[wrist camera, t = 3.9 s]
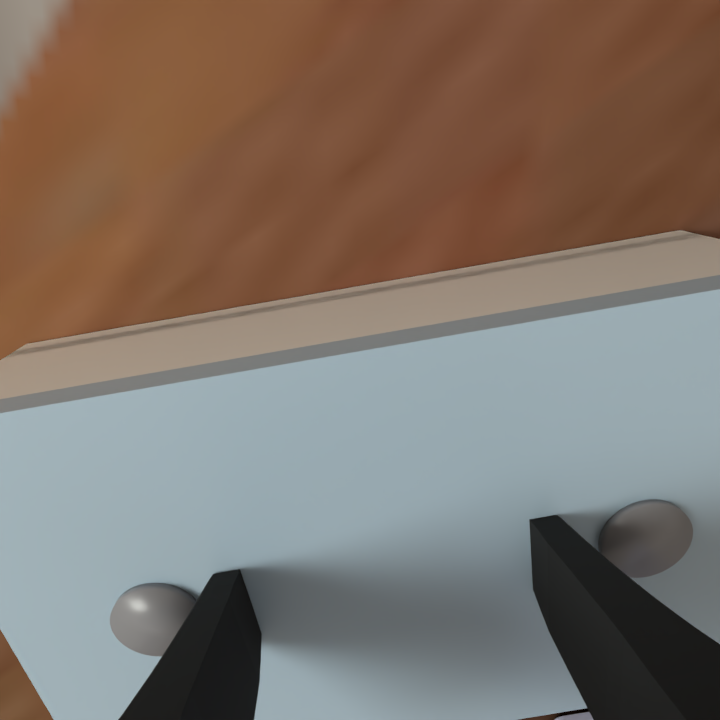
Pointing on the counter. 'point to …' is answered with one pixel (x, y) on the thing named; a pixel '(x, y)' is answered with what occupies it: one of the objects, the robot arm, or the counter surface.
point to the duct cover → (368, 506)
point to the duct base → (359, 311)
